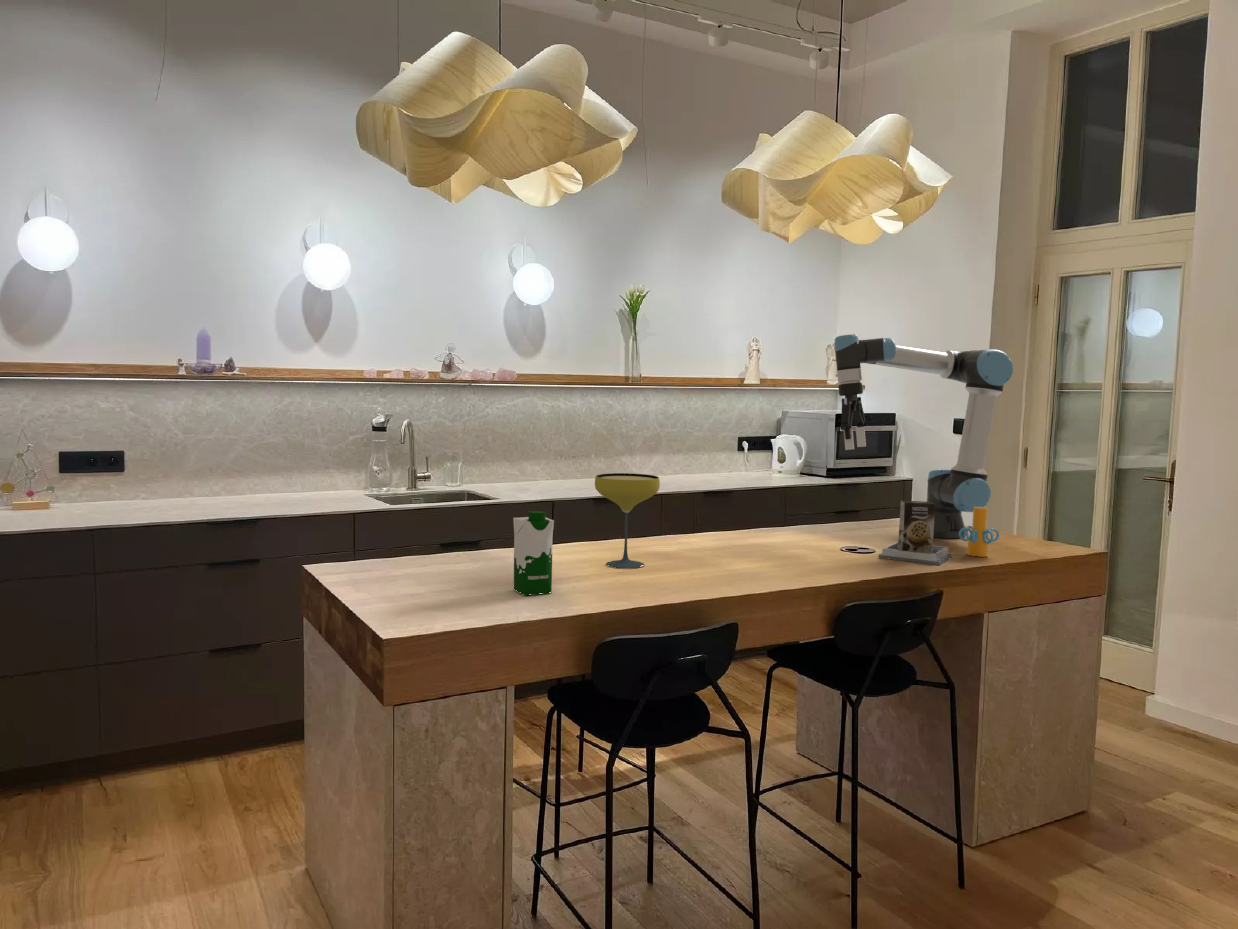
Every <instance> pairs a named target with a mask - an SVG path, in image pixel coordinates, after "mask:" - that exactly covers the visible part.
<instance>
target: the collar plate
mask: <svg viewBox="0 0 1238 929" xmlns="http://www.w3.org/2000/svg"><path fill="white" fill-rule="evenodd" d="M948 552H949V547H948V546H943V545H942V546H941V545H933V549H932V554H929V553H921V552H912V551H903V550H898V541H895V542H893V543H891V544H889V545H887V546H885V547H883V548H882V552H881V553H879V554H878V556H877V557H879V558H878V559H883V558H890V559H889V560H891V559H896V560H895V561H899V560H900V561H901V562H908V561H911V562H910V563H916V562H918V563H917V564H924V563H925V564H926V565H934V566H941V565H943V564H944V563H945V562H946V561H948V560H950V559H952V553H948ZM949 558H950V559H949ZM900 561H899V562H900ZM944 561H945V562H944ZM943 562H944V563H943Z"/></svg>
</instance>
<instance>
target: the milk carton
mask: <svg viewBox="0 0 1238 929" xmlns="http://www.w3.org/2000/svg"><path fill="white" fill-rule="evenodd" d="M512 518H513V521H512V522H513V534H514V535H513V537H514V538H513V539H514V540H513V546H514V547H513V590H514V589H515V590H517V591H518V592H521V593H522V594H524V595H529V594H539V593H549V592H551V593H552V587H553V586H552V584H553V581H552V579H553V538H554V537H553V533H554V532H553V531H554V525H555V520H554V519H551V518H548V517H546V511H544V510H529V511H528V516H524V517H522V516H521V517H512ZM515 590H514V591H515ZM517 591H516V592H517ZM518 592H517V593H518ZM522 594H521V595H522ZM524 595H523V596H524Z"/></svg>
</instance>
